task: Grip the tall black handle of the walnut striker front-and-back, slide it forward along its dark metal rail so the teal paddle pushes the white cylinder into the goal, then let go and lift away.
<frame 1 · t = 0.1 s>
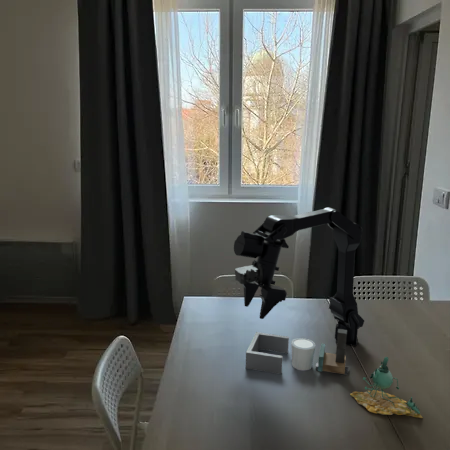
hand: (253, 312, 133), 15 cm above the table, fingers open, 9 cm apart
rail: (331, 370, 132), on the table
striker: (333, 348, 131), point 7 cm above the table, slide at 0.0 cm
gold and teal figure: (383, 408, 116), on the table
white cylinder: (301, 365, 135), on the table
goal: (269, 360, 137), on the table
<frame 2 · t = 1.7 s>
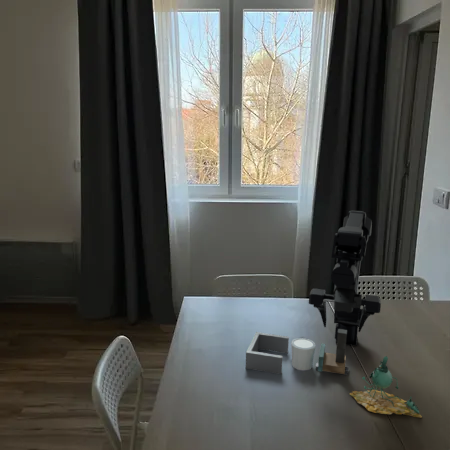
hand: (341, 329, 129), 13 cm above the table, fingers open, 9 cm apart
nothing on the table moved.
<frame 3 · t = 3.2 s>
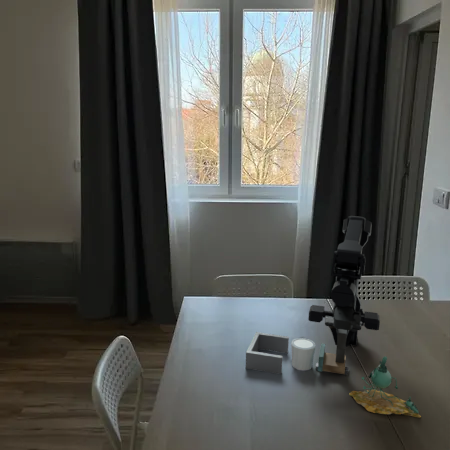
hand: (341, 345, 130), 8 cm above the table, fingers closed on striker, 2 cm apart
striker: (333, 348, 131), point 7 cm above the table, slide at 0.0 cm, touching gripper
everything else where it was.
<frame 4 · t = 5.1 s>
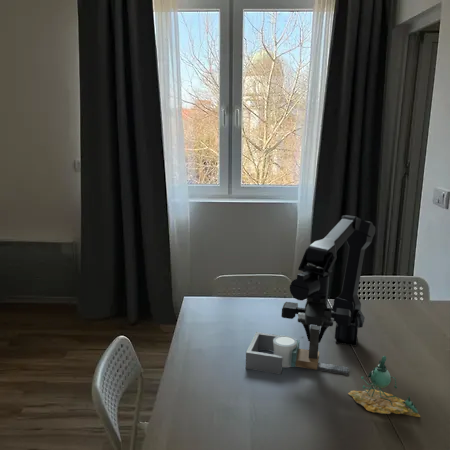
hand: (314, 341, 132), 8 cm above the table, fingers closed on striker, 2 cm apart
striker: (306, 344, 133), point 7 cm above the table, slide at 7.5 cm, touching gripper, white cylinder
white cylinder: (284, 363, 136), on the table, touching striker
everything else where it was.
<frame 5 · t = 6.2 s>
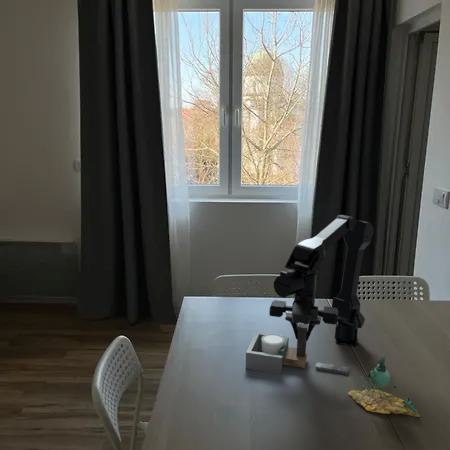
hand: (302, 339, 133), 8 cm above the table, fingers closed on striker, 2 cm apart
striker: (294, 342, 134), point 7 cm above the table, slide at 10.9 cm, touching gripper, white cylinder
white cylinder: (272, 361, 137), on the table, touching striker
everything else where it was.
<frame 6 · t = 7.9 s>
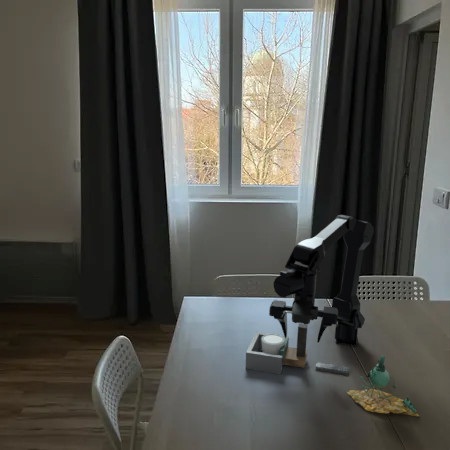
hand: (301, 339, 133), 8 cm above the table, fingers open, 9 cm apart
striker: (294, 342, 134), point 7 cm above the table, slide at 11.0 cm, touching white cylinder
everything else where it was.
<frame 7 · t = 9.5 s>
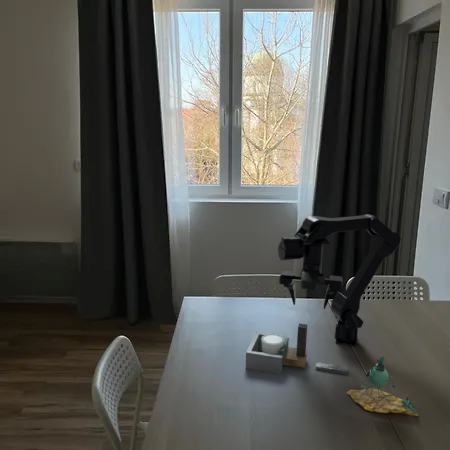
hand: (309, 306, 144), 13 cm above the table, fingers open, 9 cm apart
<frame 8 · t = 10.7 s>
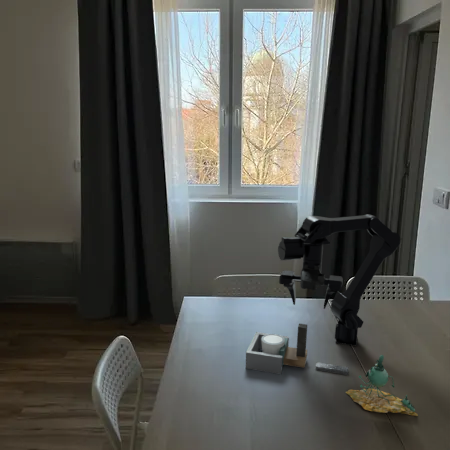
hand: (309, 306, 144), 13 cm above the table, fingers open, 9 cm apart
at the end: white cylinder inside the target area on the goal (1.4 cm from its centre), point 0.0 cm above the goal's base; white cylinder tilted 1°; striker slide at 11.0 cm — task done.
